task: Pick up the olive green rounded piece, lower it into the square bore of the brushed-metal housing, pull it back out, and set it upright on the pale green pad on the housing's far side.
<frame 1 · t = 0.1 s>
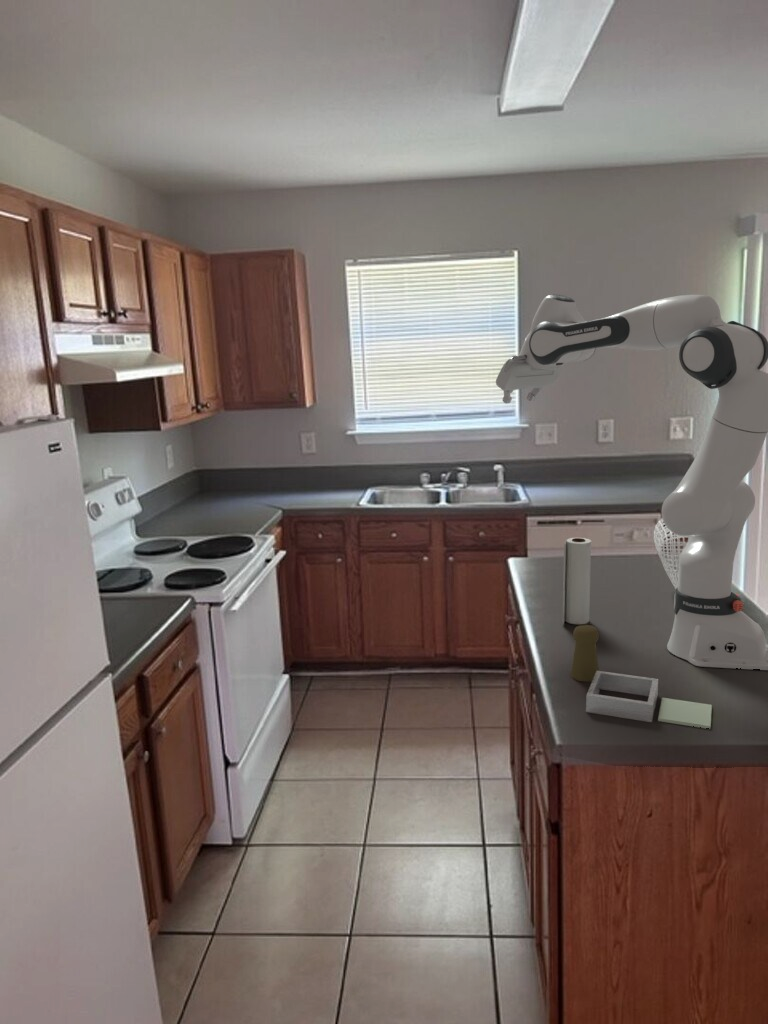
hand: (518, 401, 206), 54 cm above the counter, tool tilted 30°, fingers open, 8 cm apart
olive green rounded piece: (584, 676, 163), on the counter
green pad: (685, 714, 145), on the counter
heart: (683, 596, 211), on the counter
metal housing: (622, 703, 150), on the counter
paper towel roll: (574, 621, 195), on the counter
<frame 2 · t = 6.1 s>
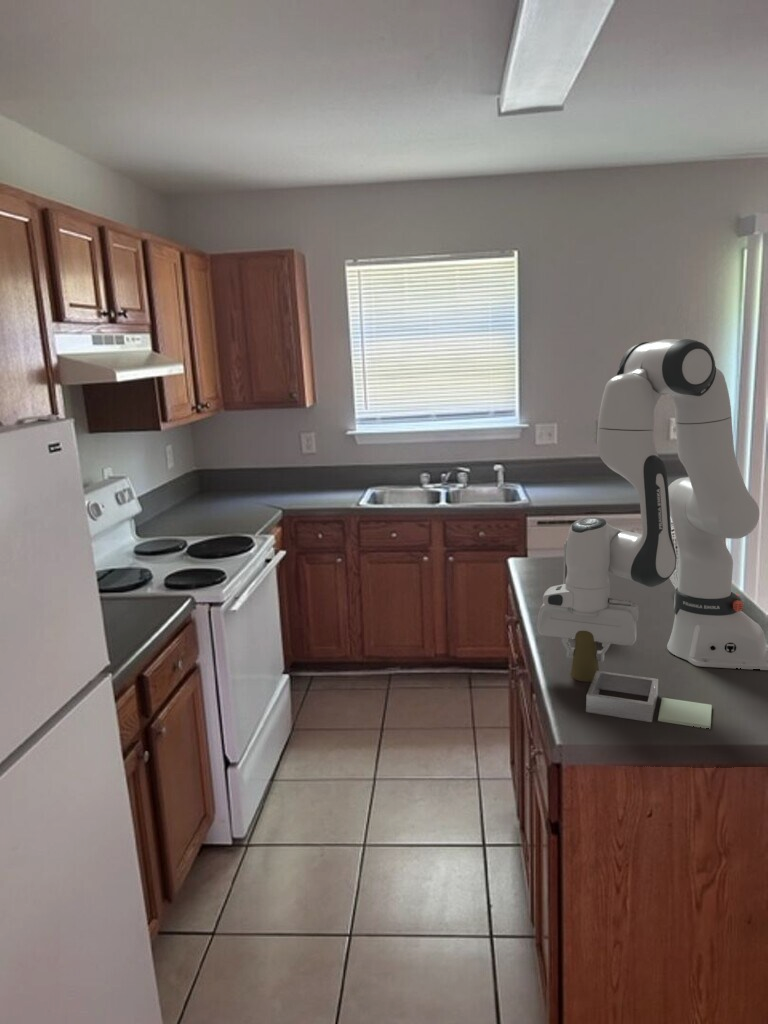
hand: (585, 658, 162), 4 cm above the counter, tool pointing down, fingers closed on olive green rounded piece, 5 cm apart
olive green rounded piece: (584, 676, 163), on the counter, touching gripper
everything else where it was.
when the fingers open (6 cm above the counter, at t = 11.5 s): olive green rounded piece stays where it is, resting in metal housing.
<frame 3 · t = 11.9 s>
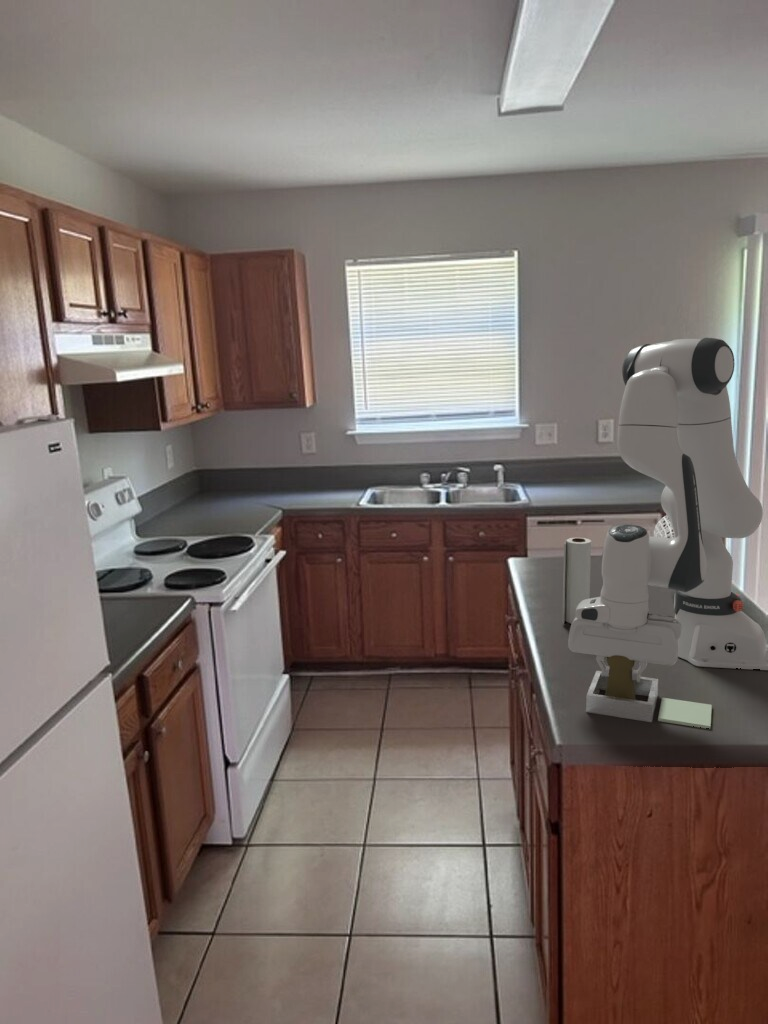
hand: (620, 678, 149), 5 cm above the counter, tool pointing down, fingers open, 4 cm apart
olive green rounded piece: (620, 704, 150), resting in metal housing, touching gripper
everything else where it was.
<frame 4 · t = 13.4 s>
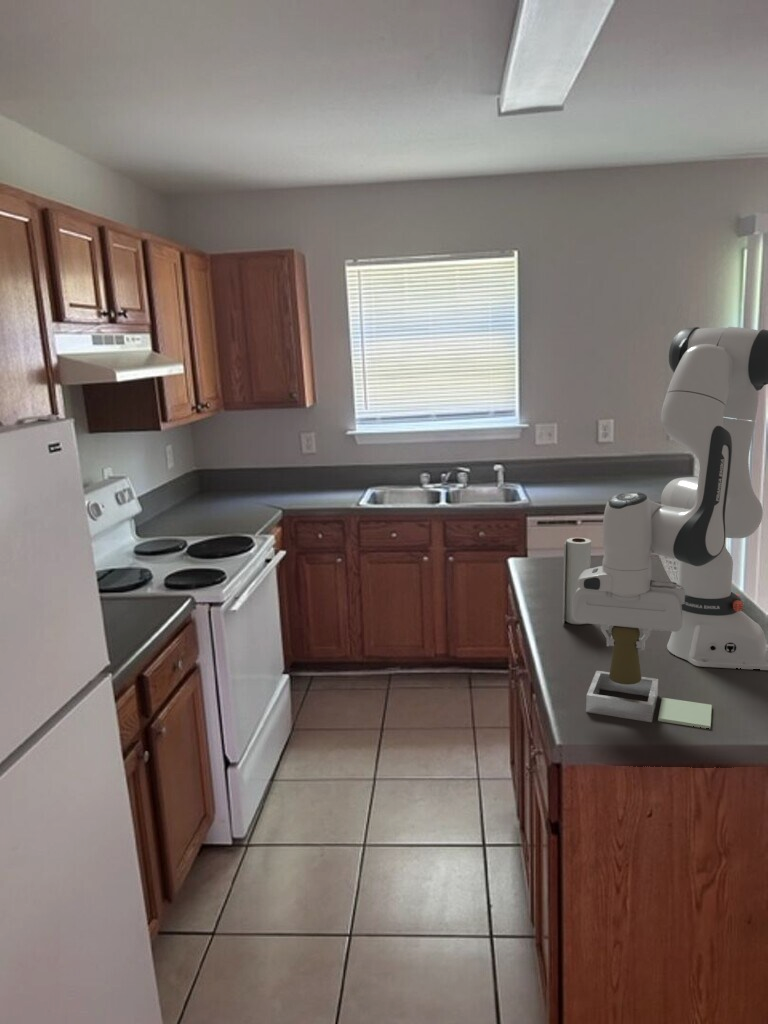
hand: (625, 646, 148), 12 cm above the counter, tool pointing down, fingers closed on olive green rounded piece, 4 cm apart
olive green rounded piece: (625, 678, 150), point 5 cm above the counter, touching gripper
everything else where it was.
when the fingers open (7 cm above the counter, at t = 17.2 s): olive green rounded piece stays where it is, resting on green pad.
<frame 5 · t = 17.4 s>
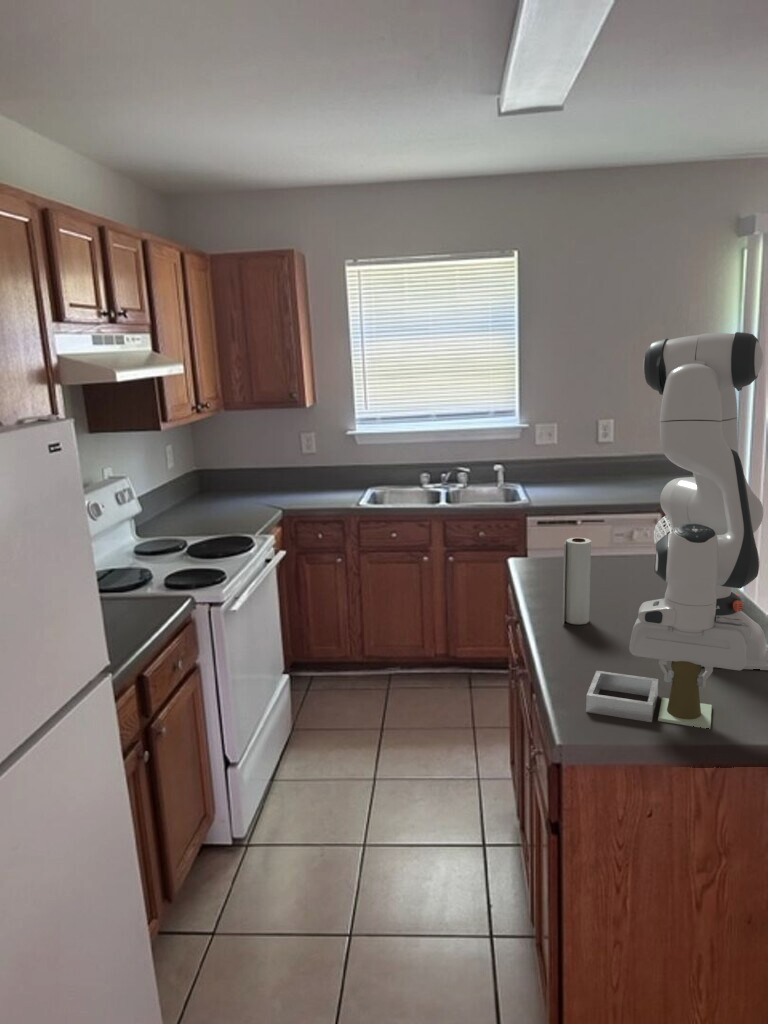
hand: (684, 683, 144), 6 cm above the counter, tool pointing down, fingers open, 4 cm apart
olive green rounded piece: (683, 712, 145), resting on green pad, touching gripper
everything else where it was.
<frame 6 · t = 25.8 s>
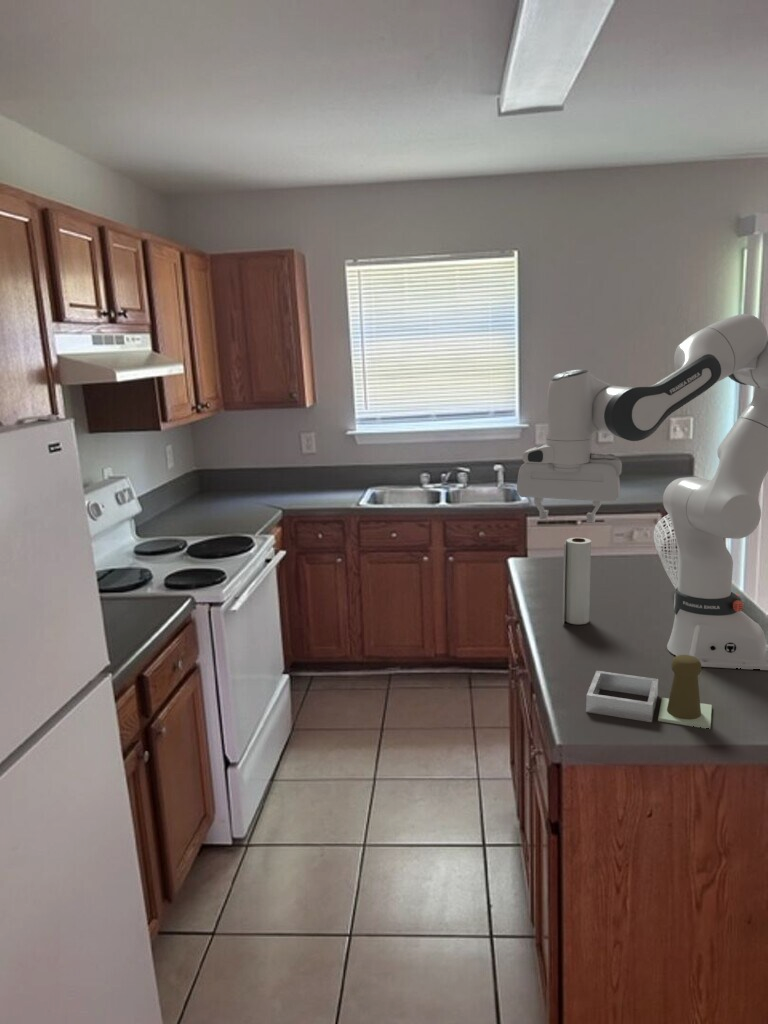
hand: (567, 520, 156), 34 cm above the counter, tool pointing down, fingers open, 8 cm apart
olive green rounded piece: (683, 712, 145), resting on green pad
everything else where it was.
at the end: olive green rounded piece 0.4 cm off-centre on the green pad, point 0.4 cm above the green pad's base; olive green rounded piece tilted 0°; the gripper is holding nothing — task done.
